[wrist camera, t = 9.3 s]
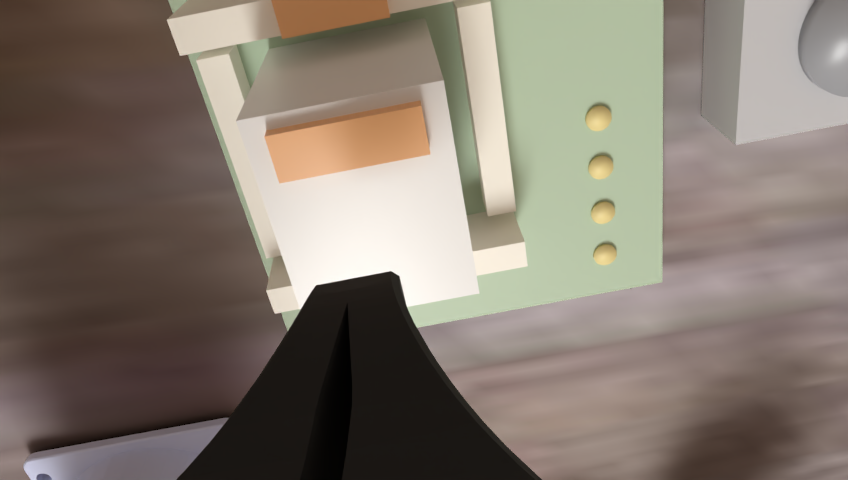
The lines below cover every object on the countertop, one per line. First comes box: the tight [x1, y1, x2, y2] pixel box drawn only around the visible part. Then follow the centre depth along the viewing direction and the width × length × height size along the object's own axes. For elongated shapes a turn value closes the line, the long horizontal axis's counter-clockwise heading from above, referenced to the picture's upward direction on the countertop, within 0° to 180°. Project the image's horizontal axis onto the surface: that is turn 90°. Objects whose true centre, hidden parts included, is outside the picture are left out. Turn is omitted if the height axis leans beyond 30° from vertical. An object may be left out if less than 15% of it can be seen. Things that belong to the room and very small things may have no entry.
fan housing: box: [701, 0, 848, 145], centre depth 18 cm, size 5×6×3 cm
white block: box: [236, 18, 479, 310], centre depth 16 cm, size 5×4×5 cm
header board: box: [167, 0, 663, 331], centre depth 18 cm, size 12×12×3 cm
